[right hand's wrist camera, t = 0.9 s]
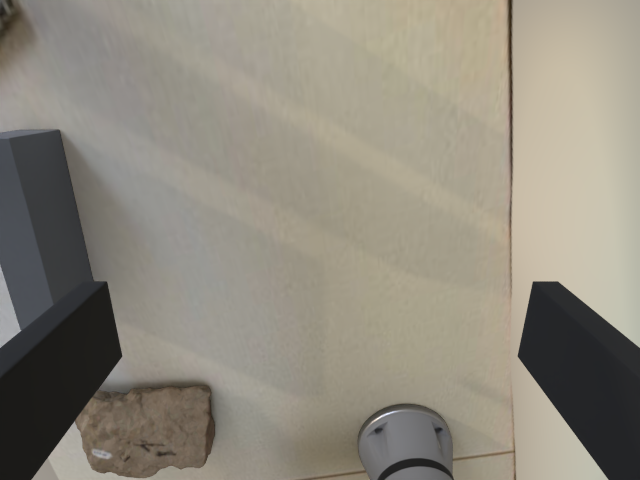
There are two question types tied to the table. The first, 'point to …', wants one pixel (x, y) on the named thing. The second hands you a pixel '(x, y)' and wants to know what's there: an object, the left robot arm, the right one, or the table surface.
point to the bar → (38, 223)
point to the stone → (147, 430)
